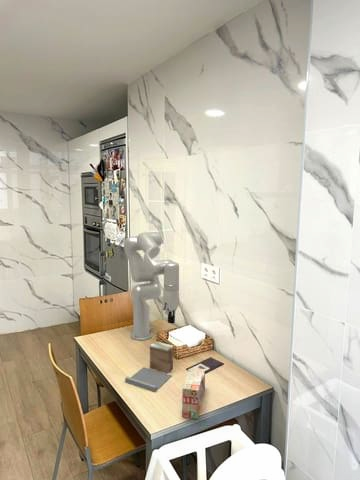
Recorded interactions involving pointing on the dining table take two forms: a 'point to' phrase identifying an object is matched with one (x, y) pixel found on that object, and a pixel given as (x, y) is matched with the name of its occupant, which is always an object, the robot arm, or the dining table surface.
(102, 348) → the dining table surface
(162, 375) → the mat
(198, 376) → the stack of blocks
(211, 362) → the chocolate bar
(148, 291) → the robot arm
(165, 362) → the walnut block
